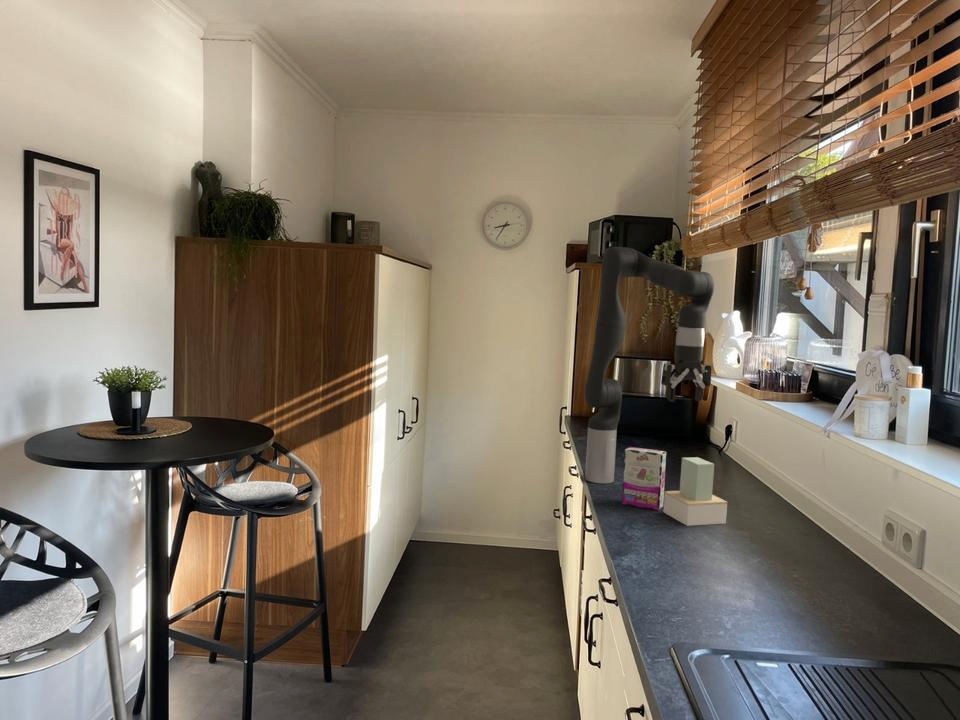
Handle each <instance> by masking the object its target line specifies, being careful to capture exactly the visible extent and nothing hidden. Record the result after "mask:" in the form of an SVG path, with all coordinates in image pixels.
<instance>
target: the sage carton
mask: <svg viewBox="0 0 960 720" xmlns="http://www.w3.org/2000/svg"><path fill="white" fill-rule="evenodd" d="M680 465H681V466H680V467H681V468H680V479H679V491H680V493H681V494H683V495H685V496H687V497H689V498H691V499H693V500H695V501H707V500H712V495H713V488H714V487H713V486H714V477H715V475H714V474H715V463H713V462H710V461H708V460H705V459H703V458H700V457H698V456H696V457H694V456H693V457H681V464H680Z"/></svg>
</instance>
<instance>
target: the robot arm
mask: <svg viewBox="0 0 960 720" xmlns="http://www.w3.org/2000/svg"><path fill="white" fill-rule="evenodd" d="M620 278H643V279H647V280H649V282H650V283H651V284H653V285H655V286H658V287H660V288H663V289H667V290H670V291H671V292H673V293H675V294H677V295H679V296H682V297H687V298H688V297H689V298H691V299H690V301H689V303H688V304H686V305H683V306H681V308H680V309H679V314H678V324H677V325H678V326H677V331H676V337H675V346H674V363H673V364H670V363H664V364H663V368H662V375H661V382H660V383H661V385H662V386H665V387H667V391H666V398H667V400H668V401H669V402H675V397H676V387H677V385H678V384H679V383H680V382H682V381H687V380H689V381H692V382H693V383H694V385H695V386H696V387H695V392H694V393H695V394H694V401H695V402H699V403H701V401H703V399H704V391H705V390H704V389H705V388H707V387H710V386H711V385H712V384H711V383H712V365H709V364H705V363H704V364H702V361H703V358H704V357H703V356H704V346H705V326H706V325H705V324H706V315H707V311H708V309H709V306H710V303H711V301H712V297H713V294H714V292H715V280H714V277H713V276H712V275H711V274H710V273H709V272H706V271H694V270H687V269H684V268H683V267H681V266H678V265H676V264H672V263H668V262H666V261H665V262H664V261H661V260H657V259H654V258H651V257H649V256H647V255H646V254H644V253H642V252H640V251H638V250H636V249H635V248H632V247H626V246H625V247H623V246H609V247H608V248H607V249H606V250H605V251H604V254H603V256H602V260H601V269H600V292H599V301H598V311H597V317H596V325H595V331H594V340H593V347H592V354H591V361H590V363H589V369H588V373H587V375H586V377H587V378H586V382H585V386H584V399H585V403H586V405H587V406H588V407H590V408H594V409H596V408H600V410H599V412H597V413H596V414H595V415H593V416H591V417H589V419H588V421H587V422H588V424H587V440H586V441H587V442H586V455H585V472H584V474H585V475H584V478H585V481H586V482H590V483H593V484H594V483H595V484H611V483H614V482H615V469H616V466H615V465H616V448H617V435H618V434H617V430H618V424H619V422H620V416H621V408H622V400H623V390H622V386H621V384H620V382H619V381H618V380H617V379H616V378H606V373H607V370H608V366H609V365H610V362H611V361H612V360H613V359H614V357H615V355H616V354H617V353H618V351H619V350H620V348H621V347H622V345H623V343H624V340H625V335H626V328H627V317H626V314H625V310H624V308H623V305H622V302H621V300H620V297H619V281H620ZM673 371H674V373H673ZM701 372H702V375H700V373H701ZM672 373H673V374H672Z"/></svg>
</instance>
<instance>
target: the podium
mask: <svg viewBox="0 0 960 720" xmlns="http://www.w3.org/2000/svg"><path fill="white" fill-rule="evenodd" d="M727 511H728V501H726V500H724V499H722V498H721V497H718V496H717V495H715V494H712V500H707V501H695V500H693V499H691V498H689V497H687V496H685V495H683V494H681V493H680V490H670V491H669V490H664V502H663V513H664V514H666V515H667V516H670V517H671V518H672V519H674V520H676V521H678V522H680V523H681V524H683V525H685V526H687V527H688V526H704V525H706V526H707V525H720V524H721V525H724V524H726V523H727Z"/></svg>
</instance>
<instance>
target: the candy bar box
mask: <svg viewBox="0 0 960 720" xmlns="http://www.w3.org/2000/svg"><path fill="white" fill-rule="evenodd" d="M623 457H624V459H623V477H622V492H621V493H622V494H621V505H625V506H630V507H636V508H642V509H643V508H644V509H648V510H654V511H660V510H661V509H663V508H664V496H665V484H666V483H665V482H666V481H665V480H666V467H667V466H666V463H667V462H666V461H667V451H664V450H658V449H649V448H642V447H634V446H633V447H632V446H629V447H627V448H625V449H624V456H623Z"/></svg>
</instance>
